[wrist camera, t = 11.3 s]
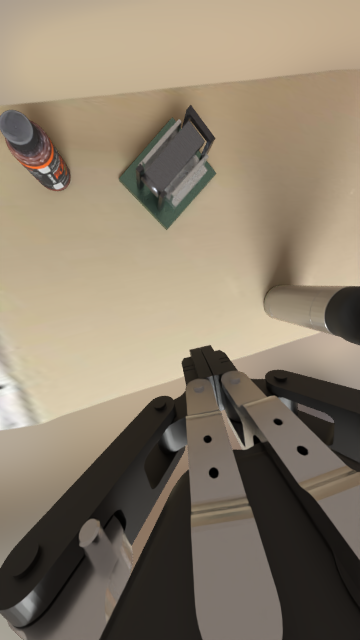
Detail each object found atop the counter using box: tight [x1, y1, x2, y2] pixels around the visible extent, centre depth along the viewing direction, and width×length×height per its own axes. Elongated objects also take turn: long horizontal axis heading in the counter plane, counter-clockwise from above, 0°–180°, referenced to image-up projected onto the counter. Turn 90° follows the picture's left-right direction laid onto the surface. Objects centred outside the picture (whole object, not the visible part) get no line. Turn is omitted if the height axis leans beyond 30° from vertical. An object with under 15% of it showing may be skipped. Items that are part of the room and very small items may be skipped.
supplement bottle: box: [0, 110, 70, 191], centre depth 30 cm, size 6×6×11 cm
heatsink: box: [119, 105, 216, 230], centre depth 36 cm, size 16×13×8 cm
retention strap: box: [141, 121, 204, 198], centre depth 33 cm, size 1×4×13 cm
